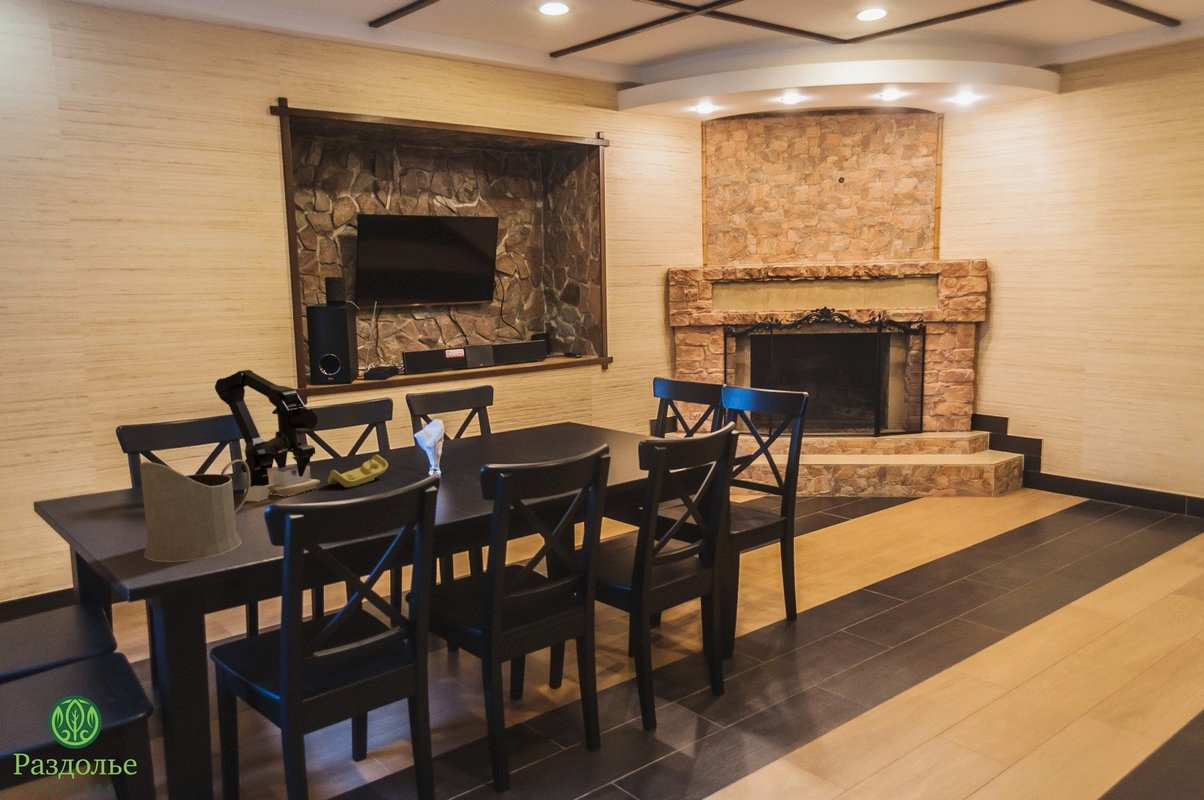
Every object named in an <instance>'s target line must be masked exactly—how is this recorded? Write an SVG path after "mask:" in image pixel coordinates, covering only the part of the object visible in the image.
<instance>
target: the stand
mask: <svg viewBox="0 0 1204 800" xmlns="http://www.w3.org/2000/svg"><path fill="white" fill-rule="evenodd" d="M319 483H321V480H320V479H315V478H311V481H308V482H304V483H300V484H296V485H292V486H288V487H280V486H274V485H273V483H271V484H270V483H269V485H266V486H268V492H269V493H272V494H277V495H282V496H288V495H291V494H294V493H298V492H301V491H304V490H309V489H313V488H316V489H317V484H319Z"/></svg>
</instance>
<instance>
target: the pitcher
mask: <svg viewBox="0 0 1204 800" xmlns="http://www.w3.org/2000/svg"><path fill="white" fill-rule="evenodd" d="M238 462H241V463H242V464H244V465H245V468H246V472H247V473H246V487H247V489H246V493H245V492H244V495H243V497H242V499H241V501H240V502H239V504H238V505H237V506H236V507H235V500H234V490H233V488H234V487H233V479H232V477H231V476H229V475H226V474H225V473H226V471H227V470H228V469H229V468H230V467H231V466H232V465H233V464H235V463H238ZM139 466H140V468H139V469H140V471H139V472H140V479H141V487H142V488H141V489H142V497H143V498H142V499H143V506H144V517H145V526H146V534H147V535H146V537H147V543H146V547H145V550H144V553H143V554H144V558H146V559H148V560H150V561H154V562H160V563H161V562H162V563H177V562H178V563H179V562H190V561H196V560H203V559H207V558H208V559H209V558H211V557H215V556H220V555H222V554H225V553H228V552H231V551H233V550H235V549H236V548H238V547H240V545H241V544H242V543H243V541H242V538H241V537H240V536H239V533H238V531H237V524H236V513H237V512H238V511H239V510H240V509H241V508H242V507H243V504H244V503H245V502H246V501H245V500H246V498H247V496H248V493H249V490H250V471H249V467H248V465H247V463H246V462H245V459H238V458H237V459H234V460H232V461H230V462H229V463H227V464H226V465H225V467H223V468H222V471H221V473H219V474H216V473H201V474H188V475H184V474H182V473H181V472H179V471H176V470H175V469H173V468H171V467H169V466H167V465H165V464H160V463H156V462H152V461H151V462H149V461H145V462H144V461H143V462H141V463H139Z"/></svg>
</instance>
